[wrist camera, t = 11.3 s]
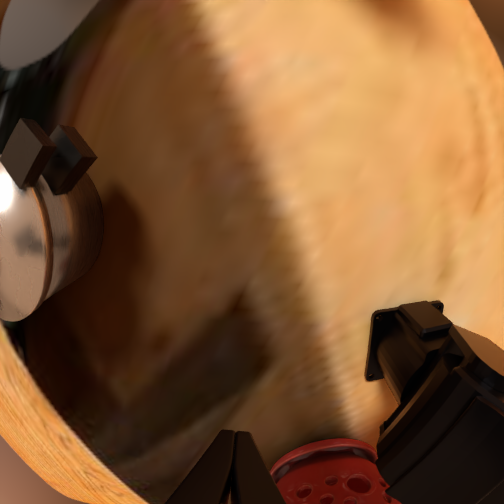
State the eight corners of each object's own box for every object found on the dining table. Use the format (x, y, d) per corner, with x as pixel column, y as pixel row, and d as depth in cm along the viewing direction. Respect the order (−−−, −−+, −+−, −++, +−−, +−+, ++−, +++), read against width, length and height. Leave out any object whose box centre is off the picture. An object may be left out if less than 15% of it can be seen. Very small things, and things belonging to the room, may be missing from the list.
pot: (78, 104, 17) (27, 88, 11) (154, 197, 19) (113, 206, 13) (-23, 282, 21) (-58, 300, 15) (28, 353, 23) (-4, 382, 17)
